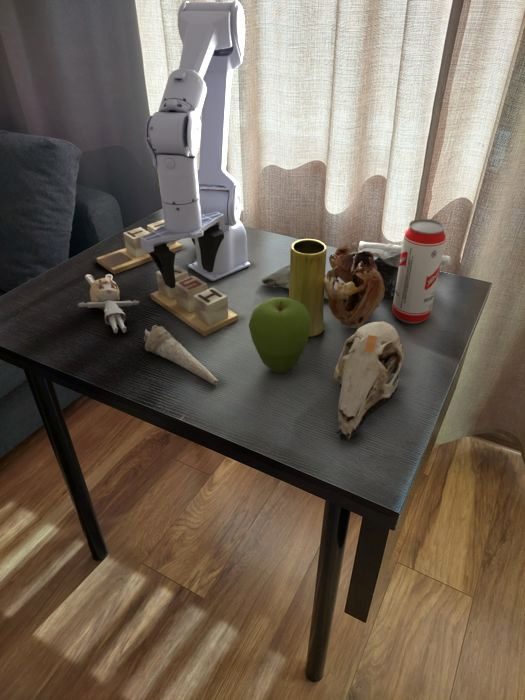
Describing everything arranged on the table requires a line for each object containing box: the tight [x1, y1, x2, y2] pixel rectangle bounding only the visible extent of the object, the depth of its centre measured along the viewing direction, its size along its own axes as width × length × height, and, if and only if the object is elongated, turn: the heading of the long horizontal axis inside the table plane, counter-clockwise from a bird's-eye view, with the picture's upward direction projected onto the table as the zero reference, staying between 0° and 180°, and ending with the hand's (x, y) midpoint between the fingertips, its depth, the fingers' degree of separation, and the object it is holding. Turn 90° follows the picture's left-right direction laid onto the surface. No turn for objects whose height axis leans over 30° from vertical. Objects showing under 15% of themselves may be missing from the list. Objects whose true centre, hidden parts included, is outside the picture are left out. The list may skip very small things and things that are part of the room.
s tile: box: [174, 275, 208, 312], centre depth 89 cm, size 4×4×4 cm
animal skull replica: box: [333, 320, 404, 441], centre depth 68 cm, size 8×17×10 cm, turn 154°
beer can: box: [391, 218, 447, 325], centre depth 83 cm, size 6×6×16 cm
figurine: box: [357, 239, 454, 268], centre depth 101 cm, size 7×4×18 cm
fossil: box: [261, 264, 348, 300], centre depth 95 cm, size 11×5×15 cm
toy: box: [77, 273, 140, 334], centre depth 89 cm, size 10×5×15 cm
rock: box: [374, 253, 401, 298], centre depth 93 cm, size 8×7×10 cm
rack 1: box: [96, 219, 183, 275], centre depth 106 cm, size 16×7×5 cm, turn 132°
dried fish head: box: [325, 242, 385, 329], centre depth 86 cm, size 21×9×10 cm, turn 169°
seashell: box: [143, 324, 219, 386], centre depth 78 cm, size 4×7×15 cm
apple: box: [248, 296, 311, 374], centre depth 74 cm, size 9×8×12 cm
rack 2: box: [150, 264, 239, 337], centre depth 89 cm, size 16×7×5 cm, turn 42°
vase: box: [288, 238, 327, 338], centre depth 81 cm, size 6×6×14 cm
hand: (189, 277), depth 87 cm, fingers open, 7 cm apart
